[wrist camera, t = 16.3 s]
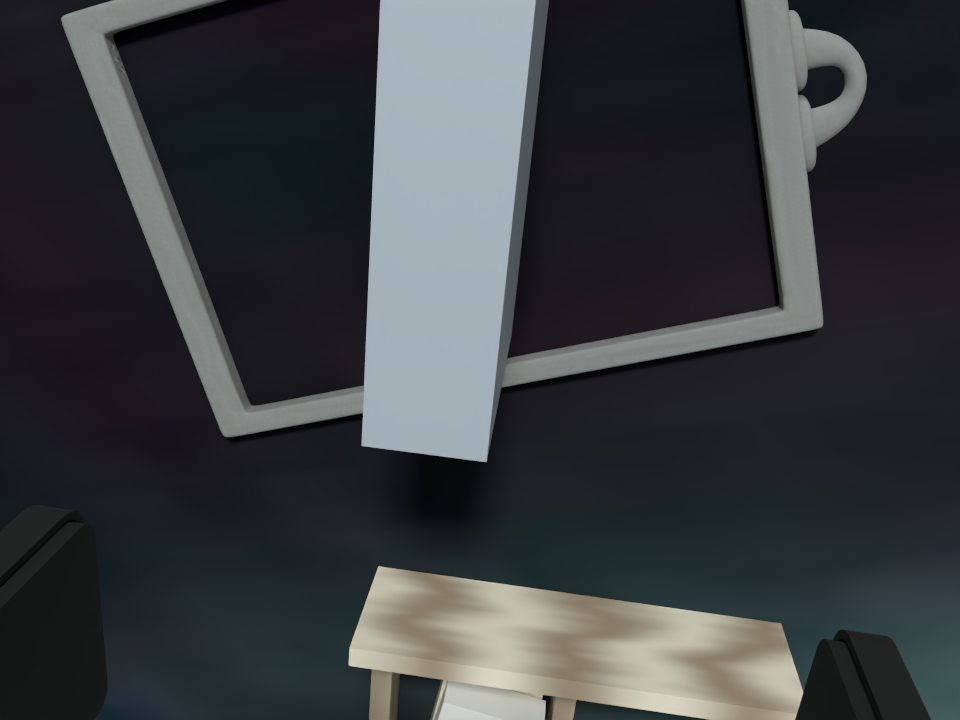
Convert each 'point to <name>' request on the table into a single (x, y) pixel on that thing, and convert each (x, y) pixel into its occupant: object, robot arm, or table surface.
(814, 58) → the grey picture frame
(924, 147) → the table surface
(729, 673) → the offcut rack
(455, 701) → the offcut top
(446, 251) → the grey sheet
